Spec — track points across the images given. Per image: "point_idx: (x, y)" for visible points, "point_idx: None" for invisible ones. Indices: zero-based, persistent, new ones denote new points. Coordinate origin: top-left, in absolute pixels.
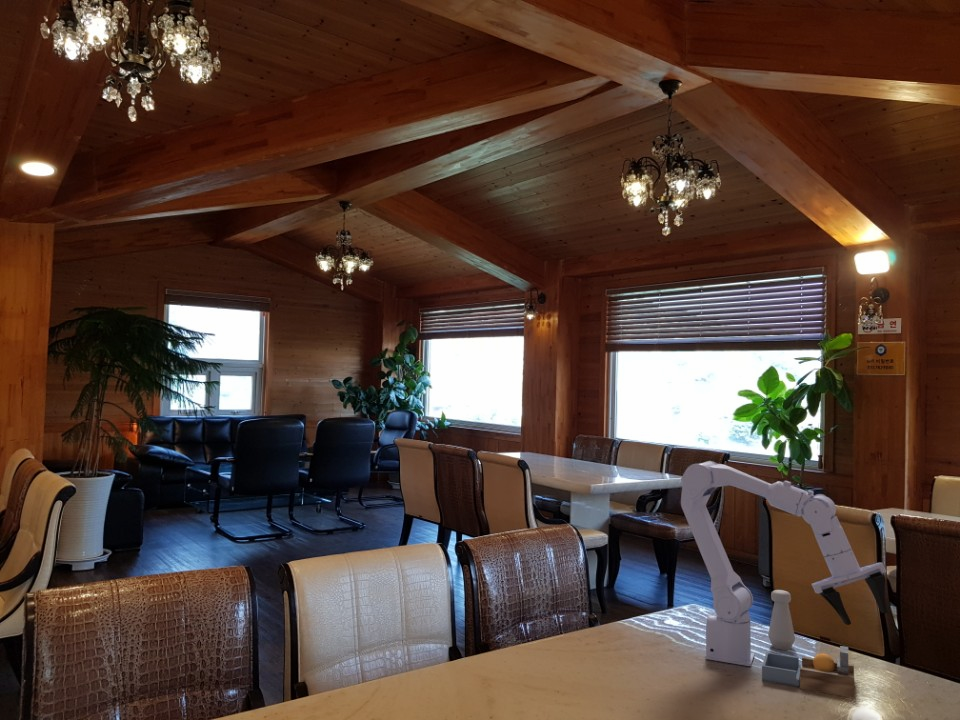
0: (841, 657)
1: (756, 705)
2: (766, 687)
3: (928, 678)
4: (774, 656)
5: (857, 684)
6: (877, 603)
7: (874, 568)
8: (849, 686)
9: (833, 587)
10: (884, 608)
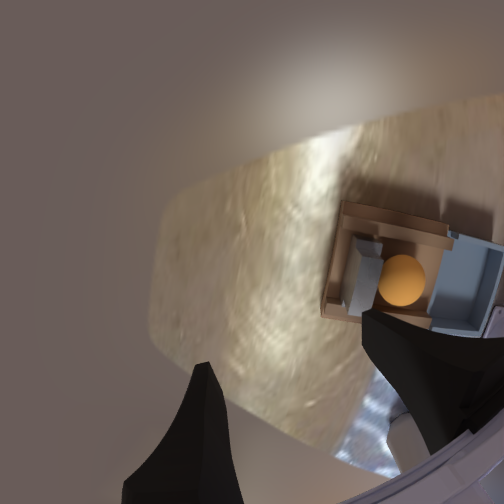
0: (376, 255)
1: (500, 118)
2: (490, 208)
3: (177, 351)
4: (468, 328)
5: (318, 286)
6: (225, 421)
7: None
8: (354, 205)
9: (465, 434)
10: (203, 372)
